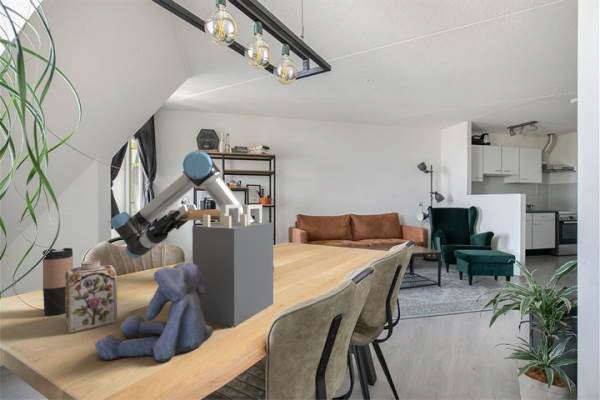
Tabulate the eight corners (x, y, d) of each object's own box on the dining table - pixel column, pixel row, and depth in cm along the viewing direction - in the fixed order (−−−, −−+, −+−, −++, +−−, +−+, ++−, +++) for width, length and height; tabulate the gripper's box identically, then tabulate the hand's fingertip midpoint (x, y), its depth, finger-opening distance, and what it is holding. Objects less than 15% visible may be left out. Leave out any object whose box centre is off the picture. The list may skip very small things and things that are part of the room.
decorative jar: (68, 335, 82) (67, 268, 82) (64, 321, 91) (64, 261, 91) (119, 322, 90) (118, 261, 90) (111, 311, 99) (110, 256, 99)
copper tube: (169, 221, 119) (166, 212, 118) (177, 218, 123) (174, 208, 122) (221, 222, 107) (218, 211, 106) (228, 218, 111) (226, 207, 110)
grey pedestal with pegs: (236, 297, 113) (235, 204, 112) (273, 303, 106) (273, 204, 105) (192, 317, 94) (192, 205, 94) (234, 327, 87) (234, 206, 87)
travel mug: (56, 317, 94) (56, 252, 94) (36, 315, 96) (36, 251, 95) (79, 308, 102) (78, 248, 101) (60, 306, 103) (59, 247, 103)
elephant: (138, 323, 90) (138, 253, 89) (222, 326, 88) (222, 254, 87) (83, 362, 69) (82, 270, 69) (190, 367, 67) (190, 273, 67)
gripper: (174, 241, 132) (210, 215, 123) (138, 246, 117) (176, 217, 107) (168, 225, 133) (203, 198, 124) (131, 229, 118) (168, 199, 109)
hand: (190, 207), depth 116 cm, fingers closed on copper tube, 4 cm apart
